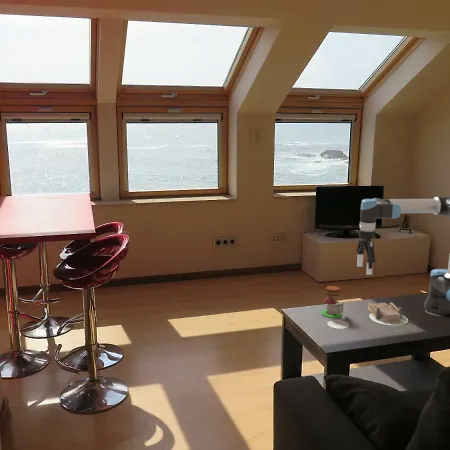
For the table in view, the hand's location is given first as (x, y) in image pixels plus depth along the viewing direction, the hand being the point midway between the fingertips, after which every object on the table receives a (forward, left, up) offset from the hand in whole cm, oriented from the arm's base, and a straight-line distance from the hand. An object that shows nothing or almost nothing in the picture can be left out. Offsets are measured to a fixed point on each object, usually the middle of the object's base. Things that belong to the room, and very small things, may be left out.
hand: (364, 270), depth 253 cm
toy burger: (+13, -10, -28) cm, 33 cm away
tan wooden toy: (-16, -9, -28) cm, 34 cm away
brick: (-16, -6, -28) cm, 33 cm away
